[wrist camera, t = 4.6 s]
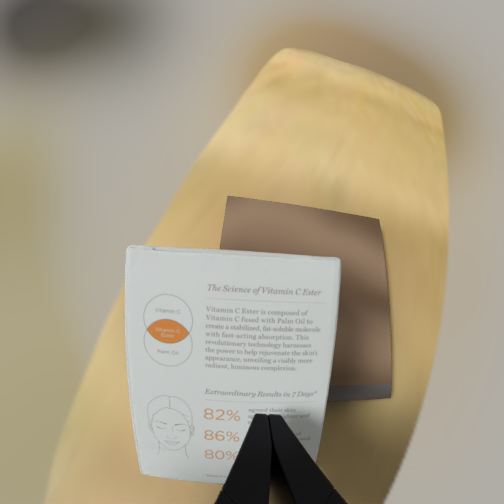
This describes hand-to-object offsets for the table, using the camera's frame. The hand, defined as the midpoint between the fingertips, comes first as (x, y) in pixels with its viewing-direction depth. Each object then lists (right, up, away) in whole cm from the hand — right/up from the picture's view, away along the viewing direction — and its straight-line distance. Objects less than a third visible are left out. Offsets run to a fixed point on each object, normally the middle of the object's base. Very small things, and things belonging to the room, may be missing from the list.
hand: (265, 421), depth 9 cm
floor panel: (+3, +2, +12) cm, 12 cm away
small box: (-2, -5, +4) cm, 7 cm away
